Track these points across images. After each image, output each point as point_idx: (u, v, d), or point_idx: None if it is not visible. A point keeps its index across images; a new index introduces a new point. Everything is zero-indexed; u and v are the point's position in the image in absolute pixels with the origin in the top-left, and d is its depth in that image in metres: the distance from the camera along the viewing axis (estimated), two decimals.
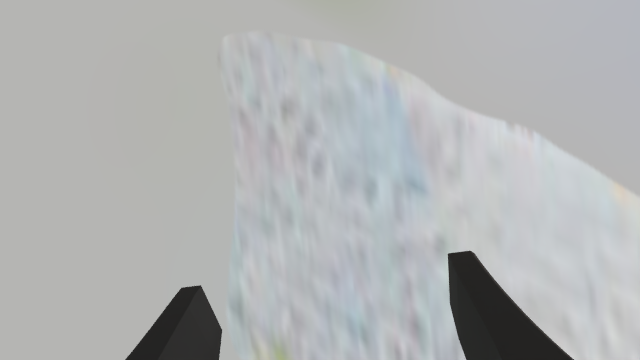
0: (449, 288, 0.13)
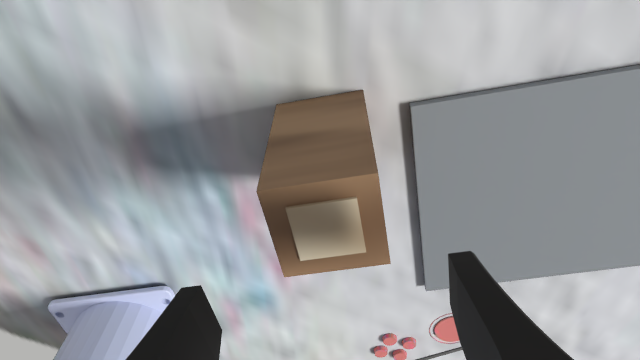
0: (449, 288, 0.13)
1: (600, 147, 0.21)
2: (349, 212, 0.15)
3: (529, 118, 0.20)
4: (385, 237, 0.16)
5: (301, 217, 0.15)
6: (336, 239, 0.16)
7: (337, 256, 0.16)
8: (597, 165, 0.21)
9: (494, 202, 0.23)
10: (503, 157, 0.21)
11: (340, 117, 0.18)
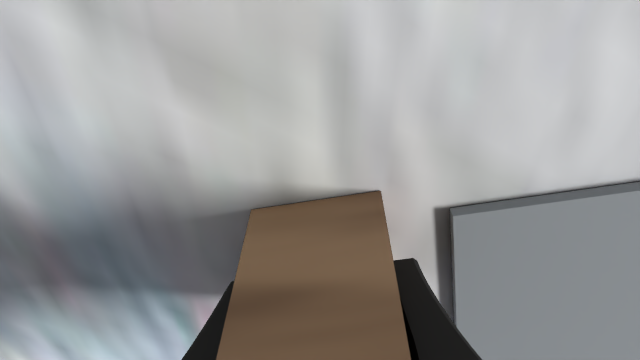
0: None
1: None
2: None
3: (629, 231, 0.13)
4: None
5: None
6: None
7: None
8: None
9: (563, 332, 0.16)
10: (584, 279, 0.15)
11: (348, 253, 0.11)
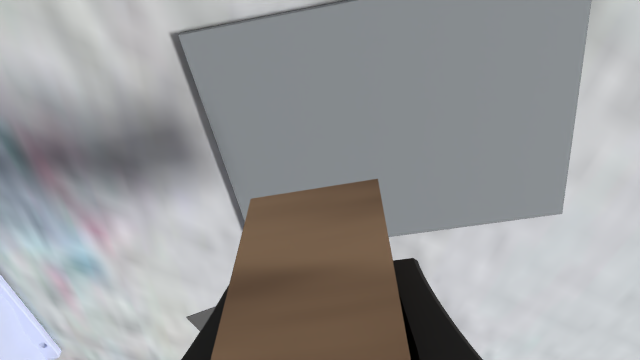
0: None
1: (401, 84, 0.19)
2: None
3: (314, 49, 0.18)
4: None
5: None
6: None
7: None
8: (403, 106, 0.19)
9: (301, 150, 0.21)
10: (297, 96, 0.19)
11: (345, 237, 0.11)
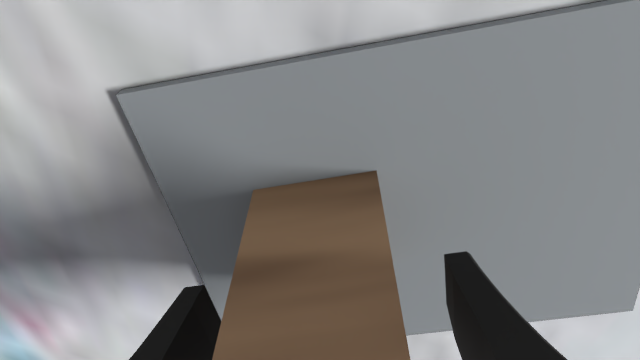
0: None
1: (429, 158, 0.14)
2: None
3: (308, 113, 0.13)
4: None
5: None
6: None
7: None
8: (431, 185, 0.14)
9: None
10: (286, 173, 0.14)
11: (345, 226, 0.12)
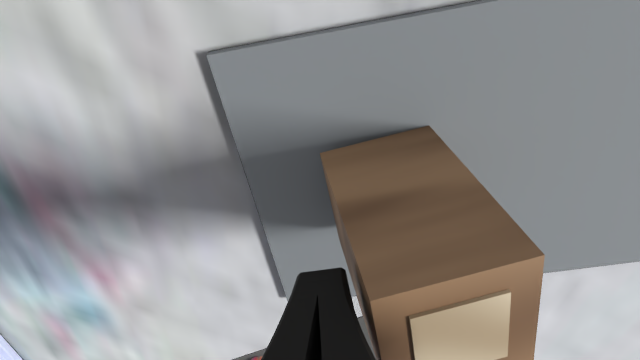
0: None
1: (476, 114, 0.15)
2: (496, 311, 0.10)
3: (372, 72, 0.15)
4: (534, 333, 0.11)
5: (430, 327, 0.10)
6: (472, 347, 0.11)
7: None
8: (476, 139, 0.16)
9: None
10: (348, 128, 0.16)
11: (425, 167, 0.14)
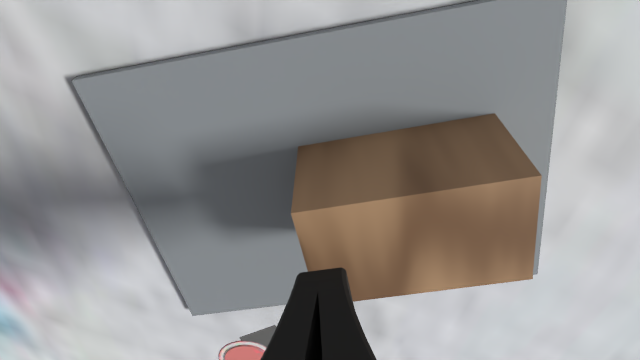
0: None
1: (342, 135, 0.16)
2: None
3: (235, 96, 0.15)
4: None
5: None
6: None
7: None
8: None
9: (232, 207, 0.18)
10: (221, 149, 0.16)
11: (369, 149, 0.15)
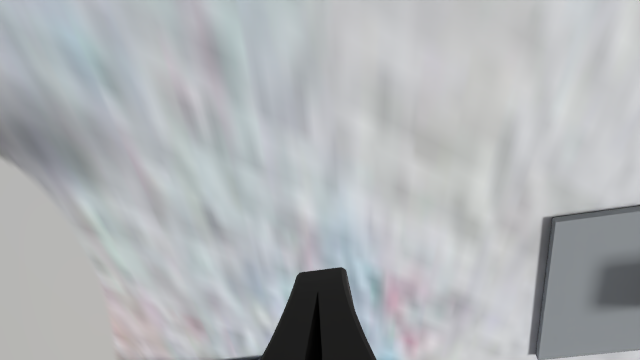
0: None
1: None
2: None
3: None
4: None
5: None
6: None
7: None
8: None
9: (612, 292, 0.26)
10: (627, 259, 0.25)
11: None
